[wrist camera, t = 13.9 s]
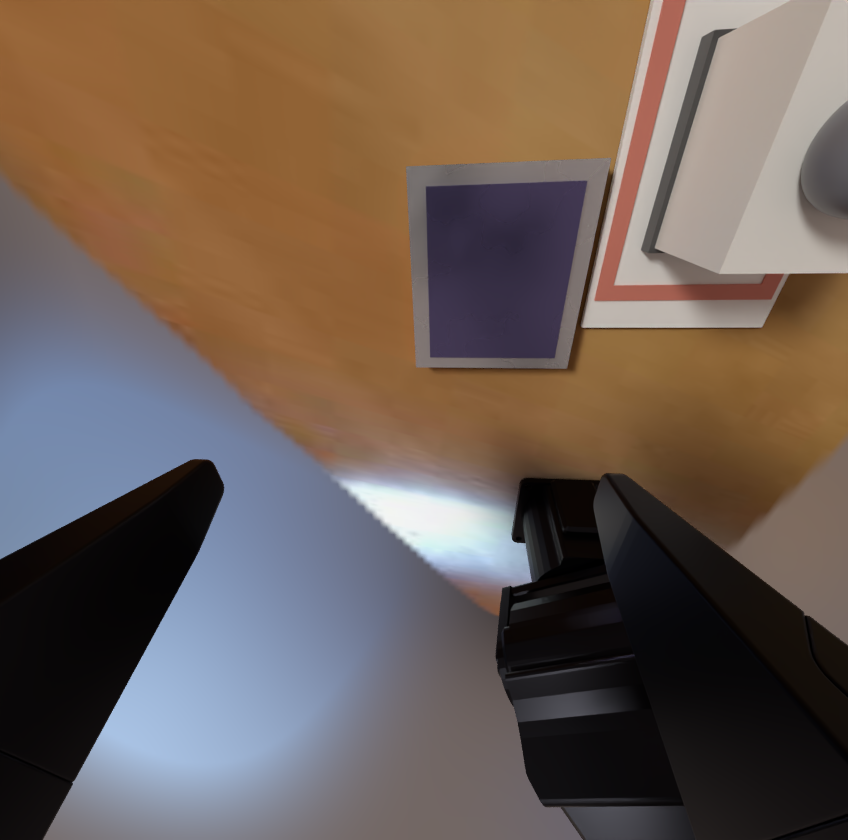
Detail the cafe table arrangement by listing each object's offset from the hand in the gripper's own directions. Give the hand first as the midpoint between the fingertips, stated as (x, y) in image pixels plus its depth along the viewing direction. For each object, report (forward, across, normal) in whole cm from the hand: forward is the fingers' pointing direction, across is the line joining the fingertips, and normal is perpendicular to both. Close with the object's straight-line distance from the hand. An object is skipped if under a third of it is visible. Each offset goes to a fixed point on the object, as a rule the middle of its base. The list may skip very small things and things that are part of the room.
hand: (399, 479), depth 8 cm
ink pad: (+13, -3, -2) cm, 13 cm away
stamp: (+13, -12, -6) cm, 18 cm away
